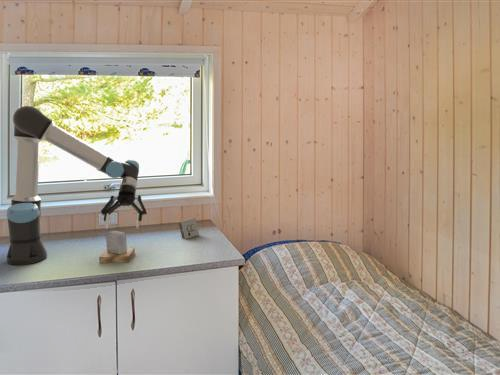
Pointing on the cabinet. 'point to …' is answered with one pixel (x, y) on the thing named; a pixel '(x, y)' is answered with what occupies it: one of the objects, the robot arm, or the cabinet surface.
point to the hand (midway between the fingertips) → (121, 227)
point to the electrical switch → (189, 228)
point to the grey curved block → (116, 242)
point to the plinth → (116, 256)
